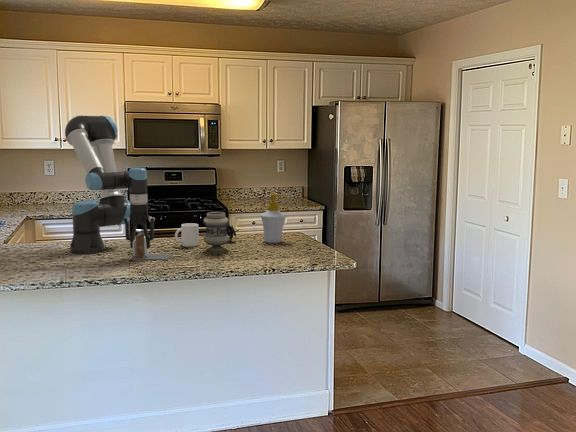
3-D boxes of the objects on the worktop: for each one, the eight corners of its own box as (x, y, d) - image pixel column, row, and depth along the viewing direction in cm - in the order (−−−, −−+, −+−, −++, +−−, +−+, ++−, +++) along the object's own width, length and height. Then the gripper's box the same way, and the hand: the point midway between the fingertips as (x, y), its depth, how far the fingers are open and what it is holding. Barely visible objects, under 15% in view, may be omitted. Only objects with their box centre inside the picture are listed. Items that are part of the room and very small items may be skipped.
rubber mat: (130, 259, 248) (130, 258, 248) (136, 254, 257) (136, 253, 257) (167, 260, 248) (167, 259, 248) (172, 254, 258) (172, 254, 257)
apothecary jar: (198, 250, 267) (197, 212, 264) (218, 246, 276) (217, 210, 273) (215, 254, 259) (214, 215, 256) (234, 250, 268) (234, 212, 265)
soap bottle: (285, 244, 283) (285, 195, 279) (259, 244, 283) (259, 195, 279) (285, 239, 296) (286, 192, 292) (261, 239, 296) (261, 192, 292)
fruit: (211, 246, 291) (239, 238, 296) (215, 247, 281) (243, 238, 285) (205, 227, 291) (233, 219, 295) (209, 227, 280) (237, 218, 285)
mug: (178, 248, 272) (177, 227, 270) (171, 245, 279) (171, 224, 277) (201, 245, 278) (201, 225, 276) (194, 243, 285) (194, 222, 283)
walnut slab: (136, 257, 249) (135, 235, 248) (139, 254, 255) (139, 232, 254) (141, 257, 249) (140, 235, 248) (144, 254, 255) (144, 233, 254)
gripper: (116, 204, 245) (118, 257, 249) (157, 204, 245) (158, 257, 249) (121, 202, 253) (123, 253, 256) (160, 202, 253) (162, 253, 256)
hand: (140, 255), depth 252 cm, fingers open, 4 cm apart
